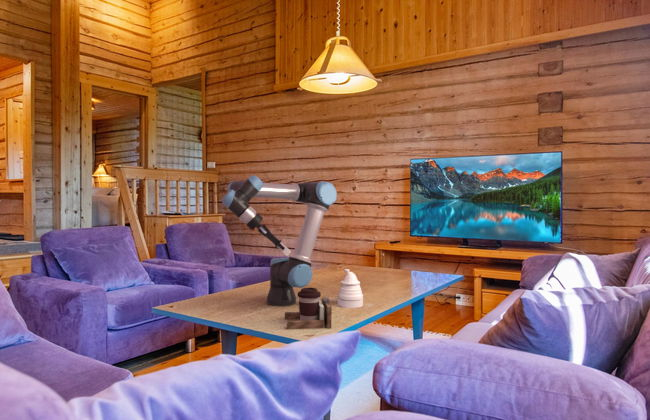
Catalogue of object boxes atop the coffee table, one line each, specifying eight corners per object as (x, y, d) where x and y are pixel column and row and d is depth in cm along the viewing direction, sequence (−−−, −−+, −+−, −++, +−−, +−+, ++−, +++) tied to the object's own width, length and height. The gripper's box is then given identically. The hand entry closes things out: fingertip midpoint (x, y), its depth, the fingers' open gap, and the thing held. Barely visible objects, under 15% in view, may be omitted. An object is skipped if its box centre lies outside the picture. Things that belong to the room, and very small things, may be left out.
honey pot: (339, 308, 227) (340, 271, 226) (335, 302, 240) (336, 267, 239) (365, 307, 229) (366, 271, 228) (359, 301, 241) (360, 267, 241)
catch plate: (320, 325, 194) (320, 306, 194) (316, 318, 206) (316, 300, 206) (323, 325, 194) (324, 306, 194) (319, 318, 206) (320, 300, 206)
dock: (287, 329, 190) (287, 304, 189) (284, 318, 206) (284, 295, 206) (332, 328, 192) (332, 303, 192) (326, 317, 209) (326, 295, 209)
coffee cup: (322, 321, 203) (322, 287, 202) (317, 327, 193) (317, 291, 193) (300, 319, 205) (301, 286, 205) (294, 325, 195) (295, 290, 195)
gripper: (245, 223, 214) (282, 257, 218) (245, 225, 201) (284, 262, 205) (256, 211, 215) (293, 246, 218) (257, 213, 202) (296, 249, 205)
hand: (289, 253), depth 211 cm, fingers closed
